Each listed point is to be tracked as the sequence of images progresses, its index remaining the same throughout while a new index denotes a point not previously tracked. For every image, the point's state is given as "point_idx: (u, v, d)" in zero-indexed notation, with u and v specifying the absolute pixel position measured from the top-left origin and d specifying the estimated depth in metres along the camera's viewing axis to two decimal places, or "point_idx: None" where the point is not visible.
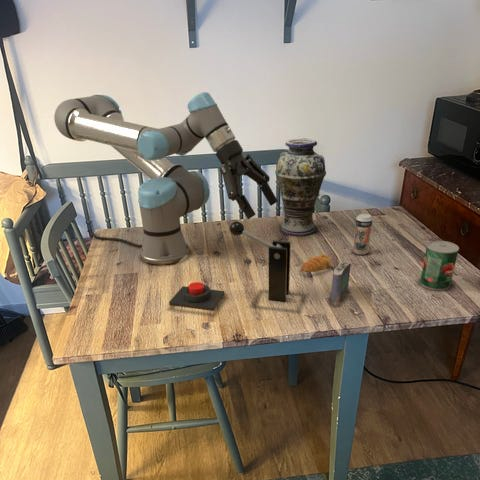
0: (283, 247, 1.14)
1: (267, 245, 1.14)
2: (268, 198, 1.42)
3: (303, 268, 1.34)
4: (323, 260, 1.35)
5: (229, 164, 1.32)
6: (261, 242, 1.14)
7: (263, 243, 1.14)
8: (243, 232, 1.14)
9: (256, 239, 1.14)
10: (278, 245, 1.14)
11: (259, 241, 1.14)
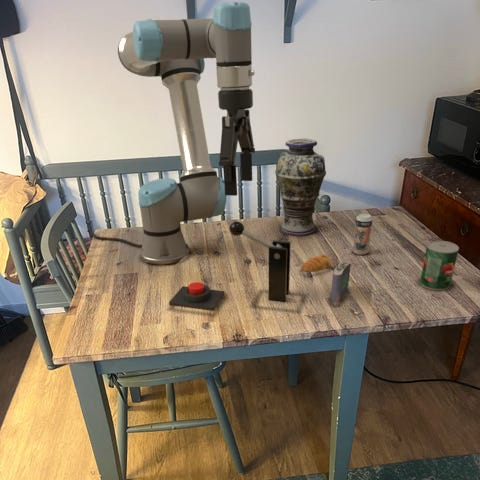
0: (283, 247, 1.14)
1: (267, 245, 1.14)
2: (243, 171, 1.15)
3: (303, 268, 1.34)
4: (323, 260, 1.35)
5: (234, 118, 0.99)
6: (261, 242, 1.14)
7: (263, 243, 1.14)
8: (243, 232, 1.14)
9: (256, 239, 1.14)
10: (278, 245, 1.14)
11: (259, 241, 1.14)
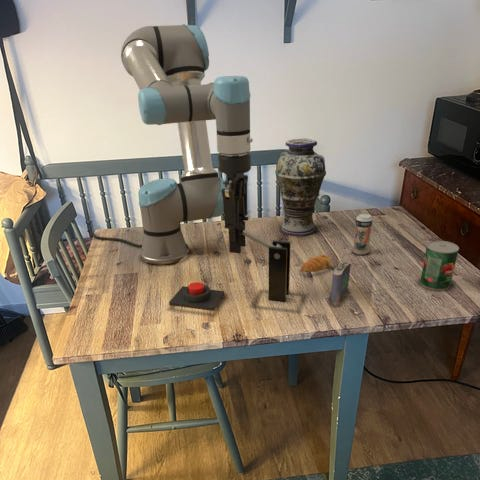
0: (283, 247, 1.14)
1: (267, 245, 1.14)
2: None
3: (303, 268, 1.34)
4: (323, 260, 1.35)
5: (232, 181, 1.04)
6: (261, 242, 1.14)
7: (263, 243, 1.14)
8: (243, 232, 1.14)
9: (256, 239, 1.14)
10: (278, 245, 1.14)
11: (259, 241, 1.14)
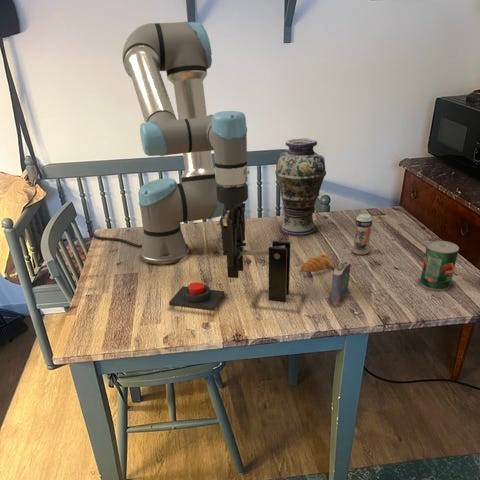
0: (280, 246, 1.14)
1: (266, 252, 1.15)
2: None
3: (303, 268, 1.34)
4: (323, 260, 1.35)
5: (230, 211, 1.08)
6: (259, 252, 1.16)
7: (261, 252, 1.15)
8: (240, 253, 1.17)
9: (254, 252, 1.16)
10: (275, 246, 1.14)
11: (257, 252, 1.16)
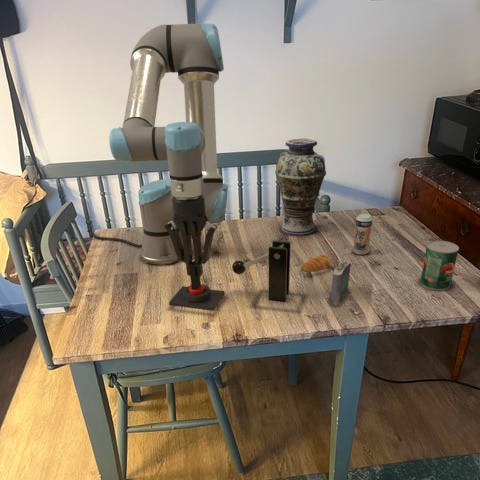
0: (279, 246, 1.14)
1: (267, 256, 1.15)
2: None
3: (303, 268, 1.34)
4: (323, 260, 1.35)
5: (172, 217, 1.10)
6: (261, 258, 1.16)
7: (263, 258, 1.16)
8: (244, 265, 1.19)
9: (256, 260, 1.17)
10: None
11: (259, 259, 1.17)
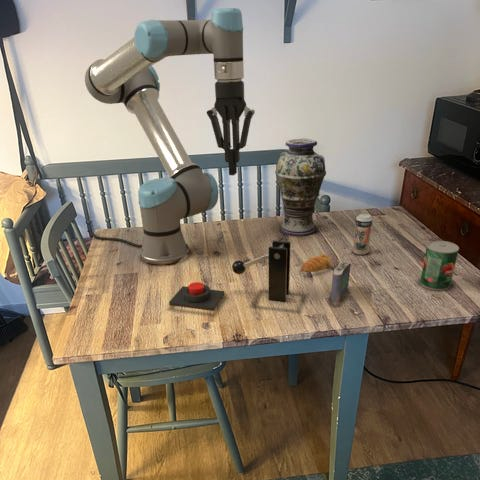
0: (279, 246, 1.14)
1: (267, 256, 1.15)
2: None
3: (303, 268, 1.34)
4: (323, 260, 1.35)
5: None
6: (261, 258, 1.16)
7: (263, 258, 1.16)
8: (244, 265, 1.19)
9: (256, 260, 1.17)
10: None
11: (259, 259, 1.17)
